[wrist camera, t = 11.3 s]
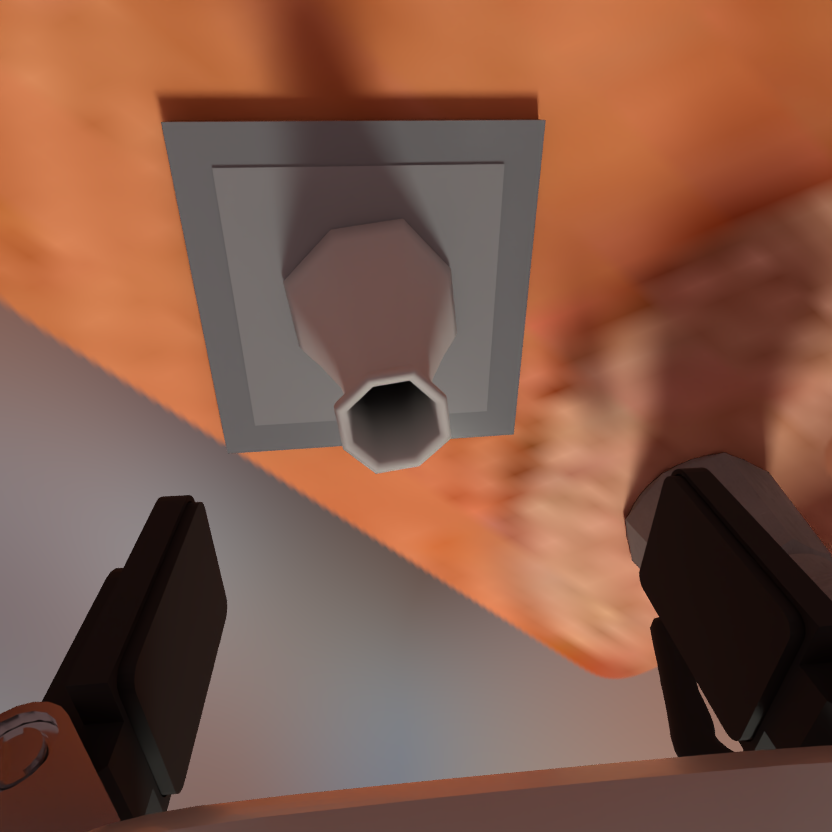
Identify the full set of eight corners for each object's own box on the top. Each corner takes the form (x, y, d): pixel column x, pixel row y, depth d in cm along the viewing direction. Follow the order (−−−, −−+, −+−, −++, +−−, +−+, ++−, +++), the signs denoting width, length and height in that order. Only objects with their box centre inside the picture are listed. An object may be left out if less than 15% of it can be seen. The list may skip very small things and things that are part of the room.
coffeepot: (825, 448, 32) (1275, 771, 17) (763, 568, 37) (1072, 909, 22) (573, 448, 30) (825, 823, 15) (540, 576, 35) (706, 964, 19)
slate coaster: (538, 119, 22) (546, 120, 21) (509, 426, 29) (514, 435, 28) (166, 121, 20) (160, 122, 20) (230, 444, 27) (227, 454, 27)
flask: (481, 338, 25) (557, 464, 17) (340, 407, 26) (343, 561, 18) (412, 184, 22) (463, 242, 13) (251, 270, 23) (200, 378, 14)
